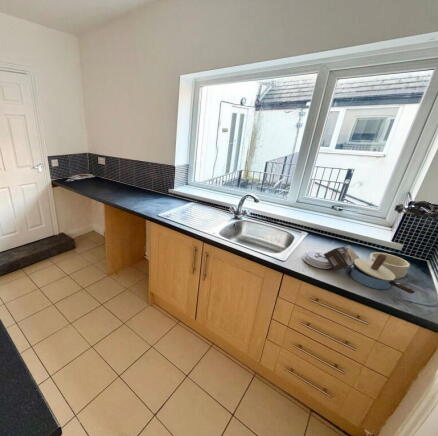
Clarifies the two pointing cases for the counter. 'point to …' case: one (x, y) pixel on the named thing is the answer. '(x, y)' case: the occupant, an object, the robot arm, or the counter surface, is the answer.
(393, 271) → the pot
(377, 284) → the pan
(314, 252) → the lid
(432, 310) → the counter surface
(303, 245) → the counter surface
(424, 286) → the counter surface
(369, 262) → the pot lid
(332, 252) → the coffee box
